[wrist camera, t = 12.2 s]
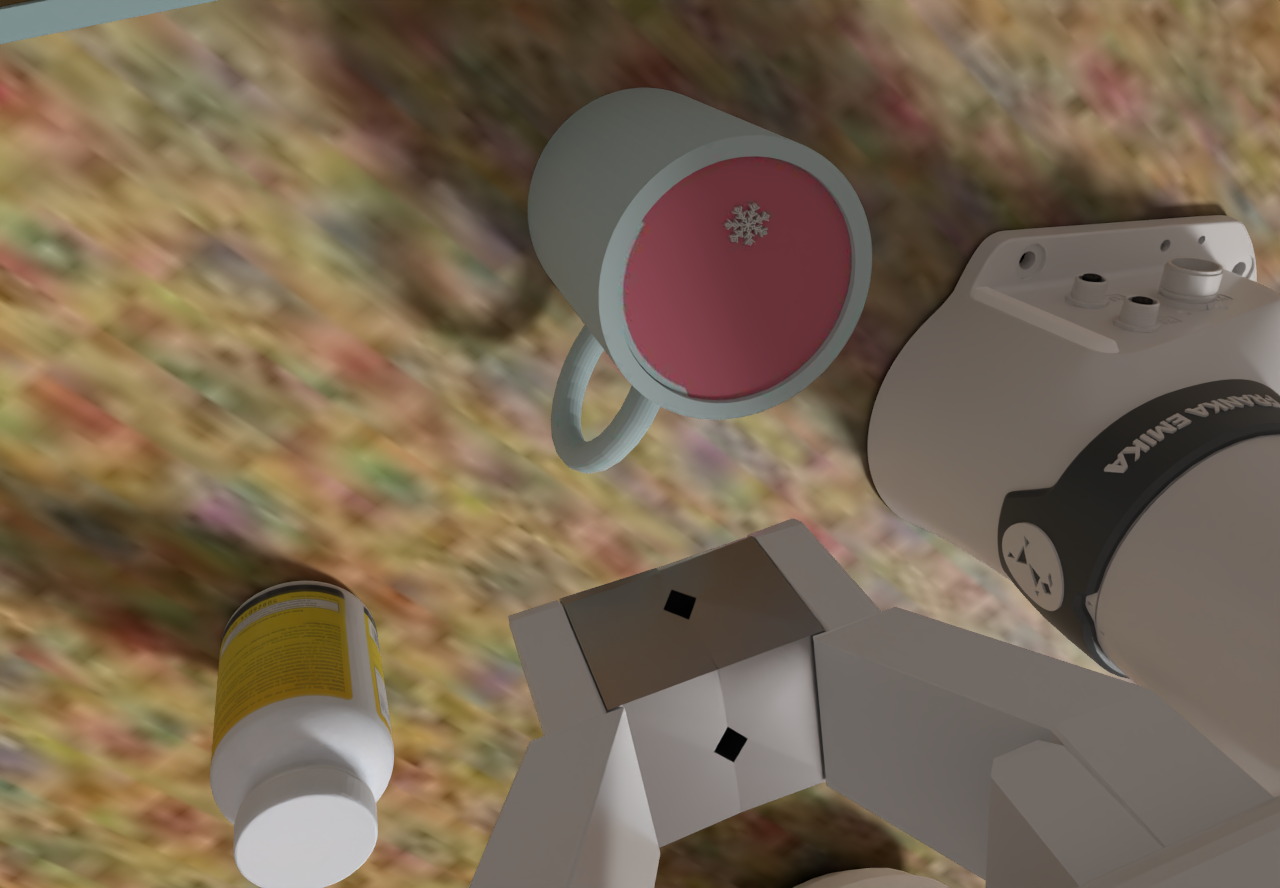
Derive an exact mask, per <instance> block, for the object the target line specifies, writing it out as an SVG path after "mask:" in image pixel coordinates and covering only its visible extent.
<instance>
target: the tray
mask: <svg viewBox="0 0 1280 888" xmlns="http://www.w3.org/2000/svg"><path fill="white" fill-rule="evenodd" d="M211 1H216V0H33V1H27V2H22V3H17V4H12V5H7V6H2V7H0V44H3V43H8V42H13V41H18V40H23V39H28V38H33V37H38V36H43V35H48V34H53V33H58V32H63V31H68V30H73V29H77V28H82V27H87V26H92V25H97V24H102V23H107V22H112V21H117V20H122V19H127V18H132V17H137V16H142V15H147V14H152V13H157V12H162V11H167V10H172V9H177V8H182V7H187V6H192V5H197V4H202V3H207V2H211Z"/></svg>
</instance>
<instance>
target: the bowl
mask: <svg viewBox="0 0 1280 888" xmlns="http://www.w3.org/2000/svg"><path fill="white" fill-rule="evenodd" d="M793 888H949V887H948V886H946V885H944V884H942V883H940V882H938V881H936V880H935V879H932V878H927V877H922V876H917V875H911V874H909V873H907V872H905V871H901V870H896V869H891V868H864V869H855V870H847V871H841V872H835V873H829V874H826V875H823V876H820V877H816V878H813V879H811V880H809V881H806V882H804V883H802V884H800V885H797V886H795V887H793Z"/></svg>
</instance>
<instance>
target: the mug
mask: <svg viewBox="0 0 1280 888" xmlns="http://www.w3.org/2000/svg"><path fill="white" fill-rule="evenodd" d="M528 224H529V232H530V236H531V240H532V244H533V247H534V250H535V253H536V255H537V257H538V259H539V261H540V263H541V265H542V267H543V269H544V270H545V272H546V273H547V275H548V276H549V277H550V279H551V280H552V281H553V283H554V284H555V285H556V287H557V288H558V289H559V291H560V292H561V293H562V295H563V296H564V297H565V299H566V300H567V301H568V303H569V304H570V305H571V307H572V308H573V309H574V311H575V312H576V313H577V314H578V316H579V317H580V318H581V320H582V321H583V322H584V324H585V326H584V327H583V329H582V330H581V332H580V333H579V335H578V337H577V338H576V340H575V341H574V343H573V345H572V347H571V349H570V351H569V353H568V355H567V357H566V360H565V362H564V365H563V367H562V370H561V373H560V376H559V378H558V381H557V385H556V389H555V394H554V398H553V403H552V413H551V431H552V439H553V442H554V446H555V449H556V452H557V454H558V455H559V457H560V458H561V459H562V460H563V461H564V463H565V464H566V465H567V466H568V467H569V468H571V469H574V470H577V471H580V472H582V473H594V472H599V471H604V470H607V469H608V468H610V467H612V466H613V465H615V464H616V463H618V462H620V461H621V460H622V459H623V458H624V457H625V456H626V455H627V454H628V453H629V452H630V451H631V450H632V449H633V448H634V447H635V446H636V445H637V444H638V443H639V441H640V440H641V439H642V437H643V436H644V434H645V433H646V431H647V430H648V429H649V427H650V426H651V424H652V422H653V420H654V418H655V416H656V414H657V412H658V410H659V408H660V406H661V407H663V408H665V409H667V410H669V411H672V412H674V413H677V414H681V415H684V416H688V417H693V418H699V419H711V420H718V419H732V418H739V417H744V416H749V415H752V414H755V413H759V412H762V411H764V410H767V409H769V408H772V407H774V406H776V405H778V404H780V403H782V402H784V401H786V400H788V399H789V398H791V397H793V396H794V395H796V394H797V393H799V392H800V391H802V390H803V389H804V388H806V387H807V386H808V385H810V384H811V383H812V382H813V381H814V380H815V379H817V378H818V377H819V376H820V375H821V374H822V373H823V372H824V371H825V370H826V369H827V368H828V367H829V365H830V364H831V363H832V362H833V361H834V360H835V358H836V357H837V356H838V354H839V353H840V352H841V350H842V349H843V347H844V346H845V344H846V343H847V341H848V339H849V338H850V336H851V335H852V333H853V331H854V329H855V327H856V325H857V323H858V320H859V318H860V315H861V313H862V311H863V308H864V304H865V301H866V298H867V294H868V290H869V285H870V279H871V272H872V242H871V235H870V229H869V225H868V221H867V217H866V214H865V212H864V209H863V206H862V204H861V202H860V200H859V198H858V195H857V194H856V192H855V190H854V189H853V187H852V186H851V184H850V183H849V181H848V180H847V179H846V177H845V176H844V175H843V174H842V173H841V172H840V171H839V170H838V169H837V168H836V166H835V165H834V164H832V163H831V162H830V161H829V160H827V159H826V158H825V157H824V156H822V155H821V154H819V153H817V152H816V151H814V150H812V149H811V148H808V147H806V146H804V145H802V144H800V143H797V142H795V141H793V140H790V139H788V138H785V137H783V136H781V135H778V134H776V133H773V132H771V131H769V130H766V129H764V128H761V127H759V126H757V125H754V124H752V123H749V122H747V121H745V120H742V119H740V118H737V117H735V116H733V115H730V114H728V113H725V112H723V111H721V110H718V109H716V108H713V107H711V106H709V105H706V104H704V103H701V102H699V101H697V100H694V99H692V98H689V97H687V96H685V95H682V94H679V93H676V92H673V91H669V90H665V89H659V88H631V89H625V90H620V91H616V92H613V93H610V94H607V95H604V96H602V97H600V98H598V99H595V100H593V101H592V102H590V103H588V104H587V105H585V106H583V107H582V108H581V109H579V110H578V111H576V112H575V113H574V114H573V115H571V116H570V117H569V118H568V119H567V120H566V121H565V122H564V123H563V124H562V125H561V126H560V127H559V128H558V130H557V131H556V132H555V133H554V135H553V136H552V137H551V139H550V140H549V141H548V143H547V145H546V146H545V148H544V150H543V151H542V154H541V156H540V158H539V160H538V162H537V165H536V167H535V170H534V173H533V176H532V180H531V184H530V189H529V195H528ZM604 350H605V351H606V353H607V354H608V355H609V357H610V358H611V359H612V361H613V362H614V363H615V365H616V366H617V367H618V369H619V370H620V371H621V373H622V374H623V375H624V377H625V378H626V379H627V380H628V381H629V382H630V383H631V384H632V386H631V389H630V391H629V393H628V395H627V397H626V399H625V401H624V403H623V405H622V407H621V409H620V411H619V412H618V413H617V415H616V416H615V418H614V419H613V421H612V422H611V424H610V425H609V426H608V427H607V428H606V429H605V430H604V431H603V432H602V433H601V434H600V435H599V436H598V437H596V438H595V439H593V440H592V441H589V442H585V441H584V438H583V436H582V433H581V422H580V421H581V409H582V403H583V399H584V394H585V390H586V387H587V384H588V381H589V379H590V376H591V373H592V371H593V369H594V367H595V365H596V363H597V361H598V359H599V357H600V355H601V354H602V352H603V351H604Z"/></svg>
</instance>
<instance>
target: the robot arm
mask: <svg viewBox="0 0 1280 888" xmlns="http://www.w3.org/2000/svg"><path fill="white" fill-rule="evenodd" d="M1024 253H1025V257H1024V259H1023V260H1022V262H1021V263H1019V261H1020V258H1021V256H1022V255H1023V254H1024ZM868 462H869V468H870V472H871V476H872V479H873V482H874V485H875V487H876V489H877V491H878V493H879V495H880V496H881V498H882V499H883V501H884V502H885V504H886V505H887V506H888V507H889V508H890V509H891V510H892V511H893V512H894V513H895V514H896V515H898V516H899V517H901V518H902V519H903V520H905V521H907V522H909V523H911V524H913V525H916V526H918V527H920V528H922V529H925V530H927V531H929V532H931V533H933V534H935V535H937V536H939V537H941V538H943V539H945V540H947V541H949V542H951V543H952V544H954V545H956V546H957V547H959V548H961V549H963V550H964V551H966V552H968V553H969V554H971V555H972V556H973V557H975V558H976V559H978V560H979V561H981V562H983V563H985V564H987V565H988V566H990V567H991V568H993V569H994V570H996V571H997V572H999V573H1000V574H1002V575H1003V576H1005V577H1006V578H1008V579H1009V580H1011V581H1012V582H1013V583H1014V584H1015V585H1016V587H1017V588H1018V589H1019V590H1020V591H1021V593H1022V594H1023V595H1024V596H1025V597H1026V598H1027V599H1028V600H1029V601H1030V603H1031V604H1032V605H1033V606H1034V607H1035V608H1036V609H1037V610H1038V611H1039V612H1040V613H1041V614H1042V616H1043V617H1044V618H1045V619H1047V620H1048V621H1049V622H1050V623H1051V624H1052V625H1053V626H1054V627H1056V628H1057V629H1058V630H1059V631H1060V632H1061V633H1062V634H1063V635H1064V636H1066V637H1067V638H1068V639H1069V640H1070V641H1071V642H1072V643H1074V644H1075V645H1076V646H1077V647H1078V648H1080V649H1081V650H1082V651H1083V652H1084V653H1086V654H1087V655H1088V656H1089V657H1090V658H1092V659H1093V660H1094V661H1095V662H1096V663H1098V664H1099V665H1100V666H1101V667H1103V668H1104V669H1106V670H1107V671H1109V672H1110V673H1113V674H1115V675H1117V676H1120V677H1124V678H1129V679H1131V680H1132V681H1133V682H1135V683H1136V684H1137V685H1135V684H1132V683H1129V682H1126V681H1123V680H1120V679H1117V678H1114V677H1110V676H1107V675H1104V674H1101V673H1098V672H1095V671H1092V670H1089V669H1086V668H1083V667H1080V666H1076V665H1073V664H1070V663H1067V662H1064V661H1061V660H1058V659H1055V658H1052V657H1049V656H1046V655H1043V654H1039V653H1036V652H1033V651H1030V650H1027V649H1024V648H1021V647H1018V646H1015V645H1012V644H1009V643H1006V642H1002V641H999V640H996V639H993V638H990V637H987V636H984V635H981V634H978V633H975V632H972V631H969V630H965V629H962V628H959V627H956V626H953V625H950V624H947V623H944V622H941V621H938V620H935V619H932V618H928V617H925V616H922V615H919V614H916V613H913V612H910V611H907V610H904V609H901V608H898V607H893V608H890V609H888V610H885V611H882V612H881V610H880V609H879V608H878V607H877V606H876V605H875V604H874V603H873V601H872V600H871V599H870V598H869V597H868V596H867V595H866V594H865V592H864V591H863V590H862V589H861V588H860V587H859V586H858V585H857V583H856V582H855V581H854V580H853V579H852V578H851V577H850V576H849V574H848V573H847V572H846V571H845V570H844V569H843V568H842V567H841V565H840V564H839V563H838V562H837V561H836V560H835V559H834V558H833V556H832V555H831V554H830V553H829V552H828V551H827V550H826V549H825V547H824V546H823V545H822V544H821V543H820V542H819V541H818V540H817V539H816V537H815V536H814V535H813V534H812V533H811V532H810V531H809V530H808V528H807V527H806V526H805V525H804V524H803V523H802V522H801V521H798V520H796V519H790V520H787V521H784V522H782V523H779V524H776V525H774V526H771V527H768V528H765V529H763V530H760V531H757V532H755V533H752V534H749V535H748V536H747V537H746V538H742V539H739V540H736V541H733V542H731V543H728V544H725V545H722V546H719V547H716V548H713V549H711V550H708V551H705V552H702V553H699V554H696V555H693V556H690V557H688V558H685V559H682V560H679V561H676V562H673V563H670V564H668V565H665V566H662V567H659V568H655V569H651V570H648V571H645V572H642V573H639V574H636V575H633V576H629V577H626V578H623V579H620V580H617V581H614V582H611V583H607V584H604V585H601V586H598V587H595V588H592V589H589V590H585V591H582V592H579V593H576V594H573V595H570V596H566V597H563V598H560V603H559V602H558V601H557V600H556V601H553V602H550V603H547V604H544V605H540V606H537V607H534V608H531V609H528V610H525V611H522V612H519V613H516V614H513V615H510V616H508V617H509V625H510V629H511V632H512V635H513V639H514V642H515V645H516V648H517V651H518V655H519V658H520V661H521V664H522V668H523V671H524V674H525V677H526V680H527V684H528V687H529V690H530V693H531V697H532V700H533V703H534V706H535V709H536V713H537V716H538V719H539V722H540V726H541V729H542V732H543V735H544V737H541V738H538V739H536V740H533V741H531V742H530V743H529V745H528V747H527V750H526V752H525V755H524V757H523V759H522V762H521V764H520V767H519V769H518V771H517V774H516V776H515V779H514V781H513V783H512V786H511V788H510V791H509V793H508V795H507V798H506V800H505V803H504V805H503V807H502V810H501V812H500V815H499V817H498V819H497V822H496V824H495V827H494V829H493V831H492V834H491V836H490V839H489V841H488V843H487V846H486V848H485V851H484V853H483V855H482V858H481V860H480V863H479V865H478V867H477V870H476V872H475V875H474V877H473V879H472V882H471V884H470V887H469V888H654V886H655V880H656V875H657V869H658V864H659V858H660V850H659V848H660V847H663V846H665V845H667V844H669V843H672V842H674V841H676V840H679V839H681V838H683V837H686V836H688V835H690V834H692V833H695V832H697V831H699V830H702V829H704V828H706V827H709V826H711V825H713V824H715V823H718V822H720V821H722V820H725V819H727V818H729V817H732V816H734V815H736V814H738V813H741V812H744V811H746V810H749V809H752V808H754V807H757V806H760V805H762V804H765V803H768V802H771V801H773V800H776V799H779V798H781V797H784V796H787V795H789V794H792V793H795V792H798V791H800V790H803V789H806V788H808V787H811V786H814V785H816V784H819V783H822V782H825V781H826V785H827V786H828V787H830V788H832V789H833V790H835V791H837V792H838V793H840V794H842V795H843V796H845V797H847V798H848V799H850V800H852V801H853V802H855V803H857V804H858V805H860V806H862V807H863V808H865V809H867V810H868V811H870V812H872V813H874V814H875V815H877V816H879V817H880V818H882V819H884V820H885V821H887V822H889V823H890V824H892V825H894V826H895V827H897V828H899V829H900V830H902V831H904V832H905V833H907V834H909V835H910V836H912V837H914V838H915V839H917V840H919V841H920V842H922V843H924V844H925V845H927V846H929V847H930V848H932V849H934V850H935V851H937V852H939V853H941V854H942V855H944V856H946V857H947V858H949V859H951V860H952V861H954V862H956V863H957V864H959V865H961V866H962V867H964V868H966V869H967V870H969V871H971V872H972V873H974V874H976V875H977V876H979V877H981V878H982V879H984V880H986V888H1280V295H1279V294H1278V293H1276V292H1275V291H1273V290H1271V289H1270V288H1268V287H1266V286H1264V285H1261V284H1259V283H1257V272H1256V261H1255V255H1254V250H1253V245H1252V242H1251V239H1250V237H1249V234H1248V232H1247V230H1246V228H1245V226H1244V224H1243V223H1242V222H1240V221H1238V220H1236V219H1233V218H1231V217H1229V216H1225V215H1211V216H1196V217H1182V218H1169V219H1155V220H1142V221H1128V222H1115V223H1101V224H1088V225H1074V226H1060V227H1047V228H1033V229H1020V230H1007V231H1000V232H996V233H994V234H992V235H990V236H989V237H987V238H986V239H985V240H984V241H983V242H982V243H981V244H980V245H979V247H978V248H977V250H976V251H975V252H974V254H973V256H972V257H971V259H970V261H969V262H968V264H967V266H966V268H965V270H964V272H963V274H962V275H961V277H960V279H959V281H958V283H957V285H956V287H955V289H954V291H953V293H952V294H951V295H950V296H949V298H948V299H947V300H946V301H945V302H944V303H943V305H942V306H941V307H940V308H939V309H938V310H937V311H936V312H935V313H934V314H933V315H932V316H931V317H930V318H929V319H928V320H927V321H926V322H925V323H924V324H923V325H922V326H921V327H920V328H919V329H918V330H917V331H916V333H915V334H914V335H913V336H912V337H911V338H910V340H909V341H908V342H907V343H906V345H905V346H904V348H903V349H902V350H901V352H900V353H899V355H898V356H897V358H896V359H895V361H894V362H893V364H892V366H891V368H890V369H889V371H888V373H887V375H886V377H885V379H884V381H883V383H882V385H881V388H880V390H879V393H878V395H877V398H876V401H875V404H874V407H873V411H872V415H871V420H870V425H869V432H868Z"/></svg>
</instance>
